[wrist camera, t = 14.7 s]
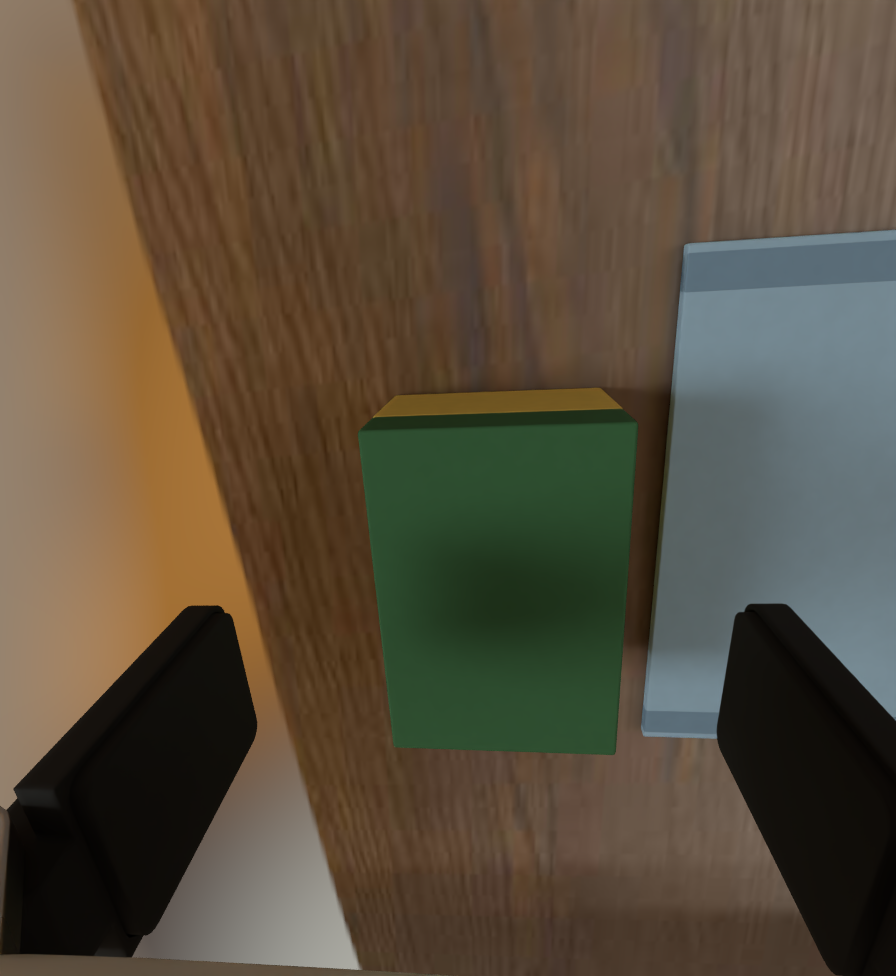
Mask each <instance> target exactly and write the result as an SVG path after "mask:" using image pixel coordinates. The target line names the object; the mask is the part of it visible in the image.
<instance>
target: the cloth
mask: <svg viewBox="0 0 896 976" xmlns="http://www.w3.org/2000/svg"><path fill="white" fill-rule="evenodd" d="M771 603H783V604H787V605H788V606H789V607H791V609H792V610H793V611H794V612H795V613H796V614H797V615H798V616H799V617H800V618H801V619H802V620H803V621H804V622H805V624H806V625H807V626H808V627H809V628H810V629H811V630H812V631H813V632H814V633H815V634H816V635H817V636H818V638H819V639H820V640H821V641H822V642H823V643H824V644H825V645H826V646H827V647H828V648H829V649H830V650H831V652H832V653H833V654H834V655H835V656H836V657H837V658H838V659H839V660H840V661H841V662H842V663H843V664H844V666H845V667H846V668H847V669H848V670H849V671H850V672H851V673H852V674H853V675H854V676H855V677H856V678H857V679H858V681H859V682H860V683H861V684H862V685H863V686H864V687H865V688H866V689H867V690H868V691H869V692H870V693H871V695H872V696H873V697H874V698H875V699H876V700H877V701H878V702H879V703H880V704H881V705H882V706H883V707H884V709H885V710H886V711H887V712H888V713H889V714H890V715H891V716H892V717H893V718H894V719H895V720H896V230H884V231H868V232H853V233H838V234H823V235H807V236H792V237H777V238H762V239H747V240H731V241H716V242H701V243H689V244H686V245H685V246H684V254H683V264H682V275H681V287H680V299H679V310H678V321H677V332H676V344H675V355H674V366H673V377H672V388H671V400H670V411H669V422H668V433H667V444H666V456H665V467H664V478H663V489H662V500H661V512H660V523H659V534H658V545H657V556H656V568H655V579H654V590H653V601H652V612H651V624H650V635H649V646H648V657H647V668H646V680H645V691H644V702H643V712H642V724H641V729H642V732H643V735H644V736H650V737H683V738H715V739H717V732H716V730H717V722H718V716H719V710H720V704H721V698H722V692H723V685H724V679H725V673H726V667H727V661H728V655H729V649H730V643H731V636H732V630H733V624H734V619H735V615H736V614H737V613H738V612H744V611H745V608H746V607H747V605H749V604H771Z"/></svg>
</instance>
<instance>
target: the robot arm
mask: <svg viewBox="0 0 896 976" xmlns="http://www.w3.org/2000/svg"><path fill="white" fill-rule="evenodd" d="M256 731H257V719H256V714H255V710H254V706H253V702H252V698H251V693H250V689H249V685H248V681H247V677H246V672H245V668H244V664H243V660H242V656H241V651H240V647H239V643H238V640H237V635H236V630H235V626H234V622H233V619H232V617H231V615H230V614H228V613H225V612H224V610H223V609H222V607H220V606H188V607H187V608H185V609H184V610H183V611H182V612H181V613H180V614H179V615H178V616H177V617H176V618H175V619H174V620H173V621H172V622H171V624H170V625H169V626H168V627H167V628H166V629H165V630H164V631H163V632H162V633H161V634H160V635H159V636H158V637H157V638H156V639H155V640H154V641H153V643H152V644H151V645H150V646H149V647H148V648H147V649H146V650H145V651H144V652H143V653H142V654H141V655H140V656H139V657H138V658H137V659H136V660H135V661H134V662H133V664H132V665H131V666H130V667H129V668H128V669H127V670H126V671H125V672H124V673H123V674H122V675H121V676H120V677H119V678H118V679H117V680H116V681H115V682H114V683H113V685H112V686H111V687H110V688H109V689H108V690H107V691H106V692H105V693H104V694H103V695H102V696H101V697H100V698H99V699H98V700H97V701H96V703H94V704H93V706H92V707H91V708H90V709H89V710H88V711H87V712H86V713H85V714H84V715H83V716H82V717H81V718H80V719H79V720H78V721H77V723H75V724H74V726H73V727H72V728H71V729H70V730H69V731H68V732H67V733H66V734H65V735H64V736H63V737H62V738H61V739H60V740H59V741H58V742H57V744H55V746H54V747H53V748H52V749H51V750H50V751H49V752H48V753H47V754H46V755H45V756H44V757H43V758H42V759H41V760H40V762H38V763H37V764H36V765H35V767H34V768H33V769H32V770H31V771H30V772H29V773H28V774H27V775H26V776H25V777H24V778H23V779H22V780H21V781H20V782H19V783H18V784H17V785H16V787H15V788H14V791H15V793H16V796H17V799H16V801H15V802H14V803H13V804H12V805H11V806H10V807H9V808H8V809H7V810H5V809H4V808H2V807H1V806H0V976H448V975H432V974H416V973H399V972H383V971H366V970H350V969H333V968H316V967H298V966H280V965H261V964H243V963H225V962H207V961H189V960H171V959H153V958H132V956H133V954H134V952H135V950H136V948H137V946H138V944H139V943H140V941H141V939H142V937H143V935H148V934H150V933H151V932H152V931H153V930H154V929H155V928H156V926H157V924H158V923H159V921H160V919H161V917H162V915H163V913H164V911H165V910H166V908H167V906H168V904H169V902H170V900H171V898H172V896H173V894H174V892H175V890H176V889H177V887H178V885H179V883H180V881H181V879H182V877H183V875H184V873H185V871H186V869H187V867H188V865H189V864H190V862H191V860H192V858H193V856H194V854H195V852H196V850H197V848H198V846H199V844H200V843H201V841H202V839H203V837H204V835H205V833H206V831H207V829H208V827H209V825H210V824H211V822H212V820H213V818H214V815H215V814H216V812H217V810H218V808H219V806H220V804H221V802H222V800H223V798H224V797H225V795H226V793H227V791H228V789H229V787H230V785H231V783H232V781H233V780H234V777H235V776H236V774H237V772H238V770H239V768H240V766H241V764H242V762H243V760H244V758H245V757H246V754H247V753H248V751H249V749H250V747H251V745H252V743H253V741H254V739H255V735H256ZM716 732H717V740H718V744H719V748H720V750H721V753H722V755H723V757H724V759H725V761H726V763H727V765H728V767H729V769H730V771H731V773H732V775H733V777H734V779H735V781H736V783H737V785H738V787H739V789H740V791H741V793H742V795H743V797H744V799H745V801H746V803H747V805H748V807H749V809H750V811H751V813H752V816H753V818H754V820H755V822H756V824H757V826H758V828H759V830H760V832H761V834H762V836H763V838H764V840H765V842H766V844H767V846H768V848H769V850H770V852H771V854H772V856H773V858H774V860H775V862H776V864H777V866H778V868H779V870H780V872H781V874H782V876H783V878H784V880H785V883H786V885H787V887H788V889H789V891H790V893H791V895H792V897H793V899H794V901H795V903H796V905H797V907H798V909H799V911H800V913H801V915H802V917H803V919H804V921H805V923H806V925H807V927H808V929H809V931H810V933H811V935H812V937H813V939H814V941H815V943H816V945H817V947H818V950H819V952H820V954H821V956H822V958H823V959H824V961H825V963H826V965H827V966H828V968H829V969H830V970H831V971H832V972H833V973H834V974H835V975H842V976H896V720H895V719H894V718H893V717H892V716H891V715H890V714H889V713H888V712H887V711H886V710H885V709H884V707H883V706H882V705H881V704H880V703H879V702H878V701H877V700H876V699H875V698H874V697H873V696H872V695H871V693H870V692H869V691H868V690H867V689H866V688H865V687H864V686H863V685H862V684H861V683H860V682H859V681H858V679H857V678H856V677H855V676H854V675H853V674H852V673H851V672H850V671H849V670H848V669H847V668H846V667H845V666H844V664H843V663H842V662H841V661H840V660H839V659H838V658H837V657H836V656H835V655H834V654H833V653H832V652H831V650H830V649H829V648H828V647H827V646H826V645H825V644H824V643H823V642H822V641H821V640H820V639H819V638H818V636H817V635H816V634H815V633H814V632H813V631H812V630H811V629H810V628H809V627H808V626H807V625H806V624H805V622H804V621H803V620H802V619H801V618H800V617H799V616H798V615H797V614H796V613H795V612H794V611H793V610H792V609H791V607H789V606H788V605H787V604H783V603H771V604H749V605H747V607H746V608H745V611H744V612H738V613H737V614H736V615H735V619H734V624H733V630H732V636H731V643H730V649H729V655H728V661H727V667H726V673H725V679H724V685H723V692H722V698H721V704H720V710H719V716H718V722H717V730H716Z"/></svg>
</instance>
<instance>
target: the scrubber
mask: <svg viewBox="0 0 896 976" xmlns="http://www.w3.org/2000/svg"><path fill="white" fill-rule="evenodd" d="M637 437H638V423H637V422H636V421H635V420H634V419H633V418H632V417H631V416H630V415H629V414H628V413H626V412H625V411H624V410H623V408H622V407H621V406H620V405H618V404H617V403H616V402H615V401H614V400H613V399H612V398H611V397H610V396H609V395H607V394H606V393H605V392H604V391H603V390H602V389H601V388H576V389H550V390H524V391H498V392H472V393H446V394H420V395H397V396H395V397H394V398H393V399H392V400H391V401H390V402H389V403H388V404H386V405H385V406H384V407H383V408H382V409H381V410H380V411H379V412H378V413H377V414H376V415H375V416H374V417H373V418H372V419H371V420H370V421H369V422H368V423H367V424H366V425H365V426H364V427H363V428H361V429H360V430H359V432H358V439H359V447H360V456H361V465H362V473H363V482H364V491H365V500H366V508H367V517H368V526H369V535H370V543H371V552H372V561H373V569H374V578H375V587H376V596H377V604H378V613H379V622H380V631H381V639H382V648H383V657H384V665H385V674H386V683H387V692H388V700H389V709H390V718H391V727H392V735H393V744H394V747H401V748H429V749H458V750H487V751H515V752H544V753H572V754H601V755H614V754H615V752H616V740H617V726H618V711H619V697H620V682H621V668H622V653H623V639H624V624H625V610H626V596H627V581H628V567H629V552H630V538H631V523H632V509H633V494H634V480H635V466H636V451H637Z"/></svg>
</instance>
